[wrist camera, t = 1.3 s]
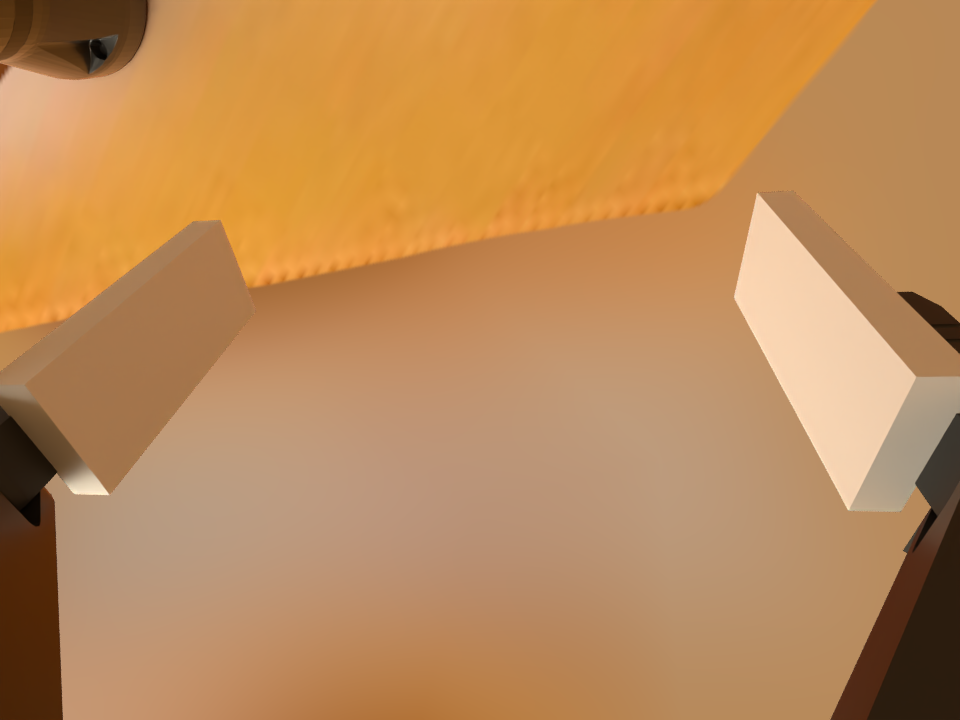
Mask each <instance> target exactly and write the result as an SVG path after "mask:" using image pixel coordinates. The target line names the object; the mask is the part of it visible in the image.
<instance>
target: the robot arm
mask: <svg viewBox="0 0 960 720" xmlns="http://www.w3.org/2000/svg"><path fill="white" fill-rule="evenodd" d="M145 21H146V0H0V63H2V64H6V65H10V66H13V67H17V68H21V69H24V70H28V71H32V72H35V73H39V74H43V75H46V76H50V77H54V78H60V79H69V80H80V79H88V78H95V77H102V76H106V75H109V74H112V73H114V72H116V71H118V70H120V69H121V68H122V67H124V66H125V65H126V64H127V63H128V62H129V61H130V60H131V58H132V57H133V56H134V54H135V53H136V51H137V49H138V47H139V45H140V42H141V40H142V36H143V33H144V28H145ZM734 299H735V300H736V302H737V304H738V306H739V308H740V310H741V312H742V313H743V315H744V317H745V319H746V321H747V323H748V324H749V327H750V328H751V330H752V332H753V334H754V336H755V338H756V339H757V341H758V343H759V345H760V347H761V349H762V351H763V352H764V354H765V356H766V358H767V360H768V362H769V364H770V365H771V367H772V369H773V371H774V373H775V375H776V377H777V378H778V381H779V382H780V384H781V386H782V388H783V390H784V392H785V394H786V395H787V397H788V399H789V401H790V403H791V405H792V407H793V408H794V410H795V412H796V414H797V416H798V418H799V419H800V421H801V423H802V425H803V427H804V429H805V431H806V433H807V434H808V436H809V438H810V440H811V442H812V444H813V446H814V447H815V449H816V451H817V453H818V455H819V457H820V459H821V461H822V462H823V464H824V466H825V468H826V470H827V472H828V474H829V475H830V477H831V479H832V481H833V483H834V485H835V486H836V488H837V490H838V492H839V494H840V496H841V498H842V500H843V501H844V503H845V505H846V507H847V509H848V511H884V512H885V511H887V512H901V511H902V509H903V507H904V505H905V504H906V502H907V501H908V499H909V497H910V496H911V494H912V492H913V491H914V489H915V487H916V486H917V487H918V489H919V490H920V492H921V493H922V495H923V496H924V497H925V499H926V500H927V502H928V503H929V505H930V506H931V509H930V510H929V511H928V513H927V515H926V516H925V518H924V519H923V521H922V522H921V524H920V525H919V527H918V528H917V530H916V532H915V533H914V535H913V536H912V538H911V539H910V541H909V542H908V544H907V545H906V547H905V548H904V550H903V551H904V552H906V553H907V555H906V557H905V559H904V562H903V564H902V566H901V568H900V570H899V572H898V575H897V577H896V579H895V581H894V583H893V586H892V587H891V590H890V592H889V594H888V596H887V598H886V600H885V603H884V605H883V607H882V609H881V611H880V614H879V616H878V618H877V620H876V622H875V625H874V626H873V629H872V631H871V633H870V635H869V637H868V639H867V642H866V644H865V646H864V648H863V650H862V652H861V655H860V657H859V659H858V661H857V664H856V665H855V668H854V670H853V672H852V674H851V676H850V679H849V681H848V683H847V685H846V687H845V689H844V691H843V693H842V696H841V698H840V700H839V702H838V704H837V707H836V709H835V711H834V713H833V715H832V718H831V720H960V323H959V322H958V321H957V320H956V319H955V318H953V317H952V316H951V315H950V314H949V313H948V312H947V311H946V310H945V309H944V308H942V307H941V306H939V305H937V304H935V303H933V302H932V301H930V300H928V299H926V298H923V297H922V296H920V295H918V294H916V293H914V292H896V291H895V290H894V289H893V288H892V287H891V286H890V285H889V284H888V283H887V282H886V281H885V280H884V279H883V278H882V277H881V276H880V275H878V273H876V271H874V270H873V269H872V268H871V267H870V266H869V265H868V264H867V263H866V262H865V261H864V260H863V259H862V258H861V257H860V256H859V255H858V254H857V253H856V252H855V251H854V250H853V249H852V248H851V247H850V246H849V245H848V244H847V243H846V242H845V241H844V240H843V239H842V238H841V237H840V236H839V235H838V234H837V233H836V232H835V231H834V230H833V229H832V228H831V227H830V226H828V224H827V223H826V222H824V220H823V219H821V217H819V215H818V214H816V213H815V212H814V211H813V210H812V209H811V208H810V207H809V206H808V205H807V204H806V203H805V202H804V201H803V200H802V199H801V198H800V197H799V196H798V195H797V194H796V193H795V192H794V191H780V192H760V193H757V197H756V201H755V205H754V210H753V214H752V219H751V224H750V228H749V233H748V238H747V242H746V246H745V251H744V255H743V260H742V264H741V269H740V273H739V278H738V282H737V287H736V291H735V296H734ZM255 312H256V309H255V306H254V303H253V301H252V298H251V296H250V293H249V291H248V288H247V286H246V283H245V281H244V278H243V276H242V273H241V271H240V268H239V266H238V263H237V261H236V258H235V256H234V253H233V251H232V248H231V246H230V243H229V241H228V238H227V236H226V233H225V231H224V228H223V225H222V223H221V220H214V221H195V222H192V223H191V224H189V225H188V226H187V227H186V228H184V229H183V230H182V231H180V232H179V233H178V234H177V235H175V236H174V237H173V238H171V239H170V240H169V241H168V242H166V243H165V244H164V245H162V246H161V247H160V248H159V249H157V250H156V251H155V252H153V253H152V254H151V255H150V256H148V257H147V258H146V259H144V260H143V261H142V262H141V263H139V264H138V265H137V266H135V267H134V268H133V269H132V270H130V271H129V272H128V273H126V274H125V275H124V276H123V277H121V278H120V279H119V280H117V281H116V282H115V283H114V284H112V285H111V286H110V287H108V288H107V289H106V290H105V291H103V292H102V293H101V294H99V295H98V296H97V297H96V298H94V299H93V300H92V301H90V302H89V303H88V304H87V305H85V306H84V307H83V308H81V309H80V310H79V311H78V312H76V313H75V314H74V315H72V316H71V317H70V318H69V319H67V320H66V321H65V322H63V323H62V324H61V325H60V326H58V327H57V328H56V329H54V330H53V331H52V332H50V333H49V334H48V335H47V336H45V337H44V338H43V339H41V340H40V341H39V342H38V343H36V344H35V345H34V346H32V347H31V348H30V349H29V350H27V351H26V352H25V353H23V354H22V355H21V356H20V357H18V358H17V359H16V360H14V361H13V362H12V363H11V364H9V365H8V366H7V367H6V368H4V369H3V370H2V371H0V720H63V712H62V686H61V660H60V633H59V607H58V582H57V554H56V529H55V502H54V499H53V497H52V495H51V494H50V493H49V492H48V491H47V489H46V488H45V487H44V486H45V485H46V484H47V483H48V482H49V481H50V480H51V479H52V477H54V475H55V474H56V473H57V474H58V475H59V476H60V478H61V479H62V480H63V481H64V482H65V484H66V485H67V486H68V487H69V488H70V490H71V491H72V492H73V493H74V494H90V495H110V494H111V493H112V492H113V490H114V489H115V488H116V487H117V485H118V484H119V483H120V482H121V480H122V479H123V478H124V476H125V475H126V474H127V473H128V471H129V470H130V469H131V468H132V466H133V465H134V464H135V463H136V461H137V460H138V459H139V458H140V456H141V455H142V454H143V453H144V451H145V450H146V449H147V447H148V446H149V445H150V444H151V443H152V441H153V440H154V439H155V438H156V436H157V435H158V434H159V433H160V431H161V430H162V429H163V428H164V426H165V425H166V424H167V422H168V421H169V420H170V419H171V417H172V416H173V415H174V414H175V412H176V411H177V410H178V409H179V407H180V406H181V405H182V404H183V402H184V401H185V400H186V399H187V397H188V396H189V395H190V394H191V392H192V391H193V390H194V389H195V387H196V386H197V385H198V384H199V382H200V381H201V380H202V379H203V377H204V376H205V375H206V373H207V372H208V371H209V370H210V369H211V367H212V366H213V365H214V363H215V362H216V361H217V360H218V358H219V357H220V356H221V355H222V353H223V352H224V351H225V350H226V348H227V347H228V346H229V345H230V343H231V342H232V341H233V340H234V338H235V337H236V336H237V335H238V333H239V332H240V331H241V330H242V328H243V327H244V326H245V325H246V323H247V322H248V321H249V320H250V318H251V317H252V316H253V315H254V313H255Z"/></svg>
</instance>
